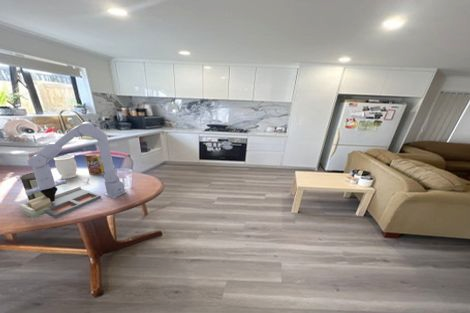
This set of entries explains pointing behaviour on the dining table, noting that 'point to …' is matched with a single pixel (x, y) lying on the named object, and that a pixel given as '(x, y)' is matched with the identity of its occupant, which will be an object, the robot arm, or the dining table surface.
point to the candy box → (95, 163)
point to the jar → (66, 166)
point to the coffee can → (30, 185)
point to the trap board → (64, 203)
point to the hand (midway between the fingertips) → (52, 201)
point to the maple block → (39, 203)
